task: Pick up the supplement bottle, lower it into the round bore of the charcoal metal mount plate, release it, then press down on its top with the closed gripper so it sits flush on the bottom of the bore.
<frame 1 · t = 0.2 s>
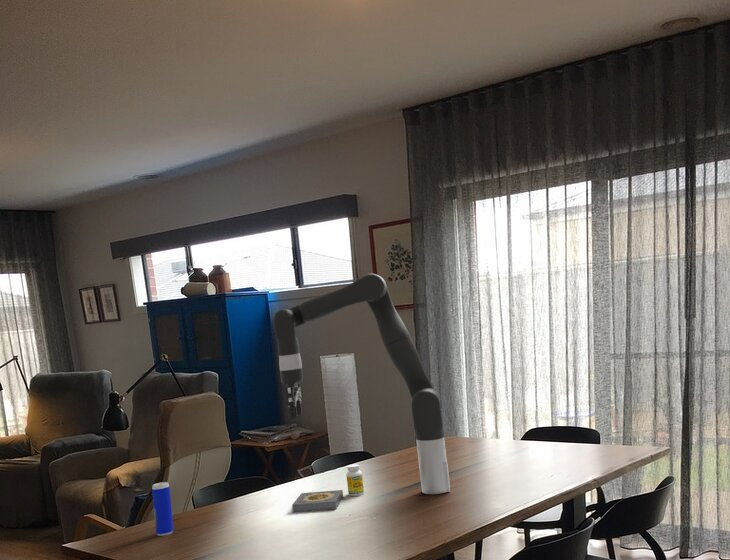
hand: (296, 416, 234), 28 cm above the table, fingers open, 8 cm apart
supplement bottle: (356, 494, 235), on the table
mount plate: (318, 504, 226), on the table
beverage can: (164, 534, 212), on the table
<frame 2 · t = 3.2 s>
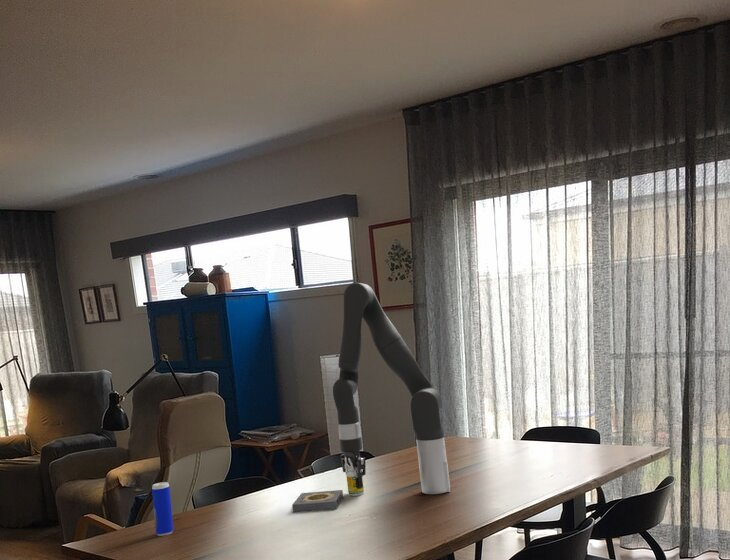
hand: (355, 486, 235), 3 cm above the table, fingers closed on supplement bottle, 5 cm apart
supplement bottle: (356, 494, 235), on the table, touching gripper
everything else where it was.
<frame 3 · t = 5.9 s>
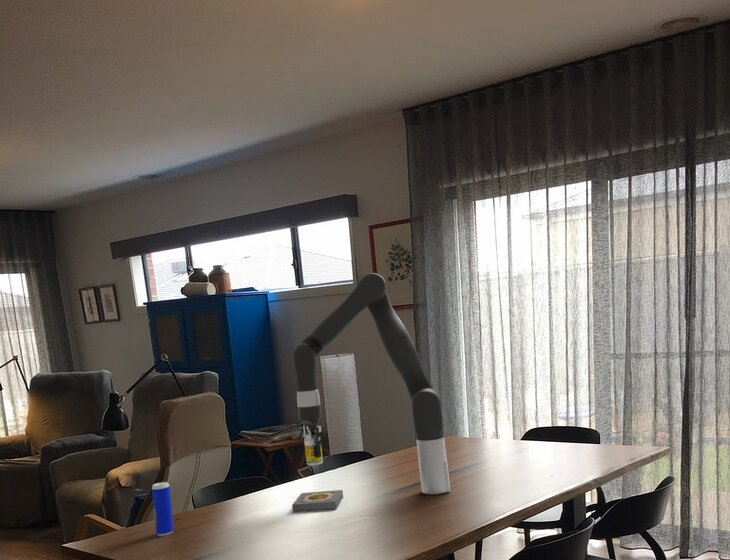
hand: (313, 455, 228), 16 cm above the table, fingers closed on supplement bottle, 5 cm apart
supplement bottle: (314, 464, 227), point 13 cm above the table, touching gripper
everything else where it was.
when the fingers open (4 cm above the table, at t = 8.6 s): supplement bottle drops 1 cm, resting in mount plate.
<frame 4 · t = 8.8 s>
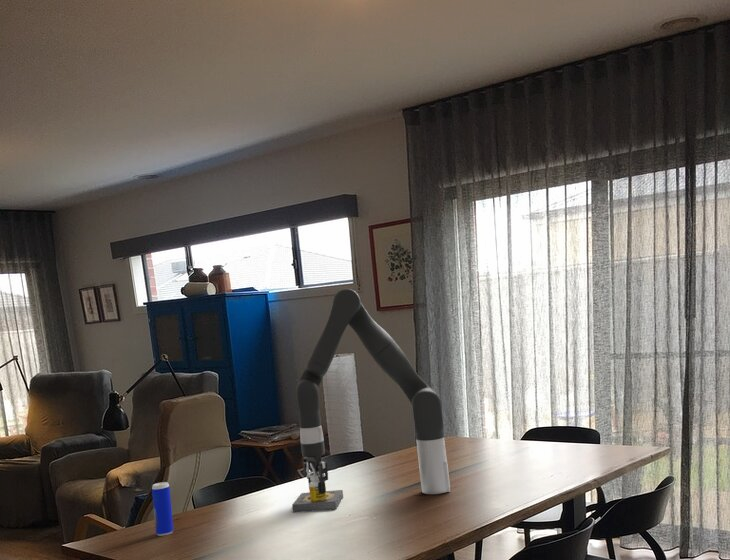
hand: (317, 491, 226), 4 cm above the table, fingers open, 6 cm apart
supplement bottle: (319, 505, 226), resting in mount plate
everything else where it was.
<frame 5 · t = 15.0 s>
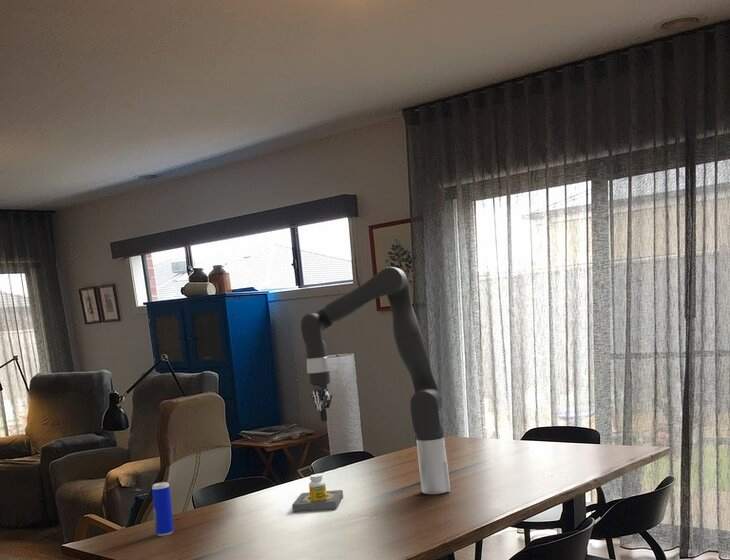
hand: (323, 421, 239), 25 cm above the table, fingers closed
nothing on the table moved.
at the end: supplement bottle 0.2 cm from the mount plate (horizontally); supplement bottle resting in mount plate; supplement bottle tilted 0° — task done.
